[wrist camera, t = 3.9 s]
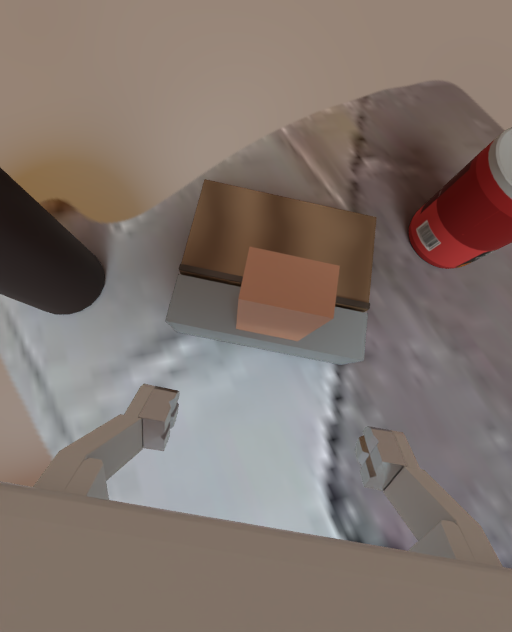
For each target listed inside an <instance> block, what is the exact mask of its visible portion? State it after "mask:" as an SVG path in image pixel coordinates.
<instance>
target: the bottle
mask: <svg viewBox="0 0 512 632" xmlns="http://www.w3.org/2000/svg"><path fill="white" fill-rule="evenodd" d="M104 278H105V275H104V271H103V267H102V265H101V263H100V262H99V260H98V259H97V258H96V256H95V255H93V254H92V253H91V252H90V251H89V250H88V249H87V248H86V247H85V246H84V245H83V244H82V243H81V242H80V241H78V240H77V239H76V238H75V237H74V236H73V235H72V234H71V233H70V232H69V231H68V230H67V229H66V228H65V227H63V226H62V225H61V224H60V223H59V222H58V221H57V220H56V219H55V218H54V217H53V216H52V215H51V214H50V213H48V212H47V211H46V210H45V209H44V208H43V207H42V206H41V205H40V204H39V203H38V202H37V201H35V200H34V199H33V198H32V197H31V196H30V195H29V194H28V193H27V192H26V191H25V190H24V189H23V188H22V187H21V186H20V185H18V184H17V183H16V182H15V181H14V180H13V179H12V178H11V177H10V176H9V175H8V174H7V173H6V172H4V171H3V170H2V169H1V168H0V294H2V295H5V296H7V297H10V298H12V299H15V300H18V301H20V302H23V303H25V304H28V305H30V306H33V307H36V308H38V309H41V310H43V311H46V312H50V313H53V314H72V313H75V312H79V311H82V310H83V309H85V308H86V307H88V306H90V305H91V304H92V303H93V302H94V301H95V300H96V299H97V298H98V297H99V295H100V293H101V291H102V289H103V286H104Z"/></svg>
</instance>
